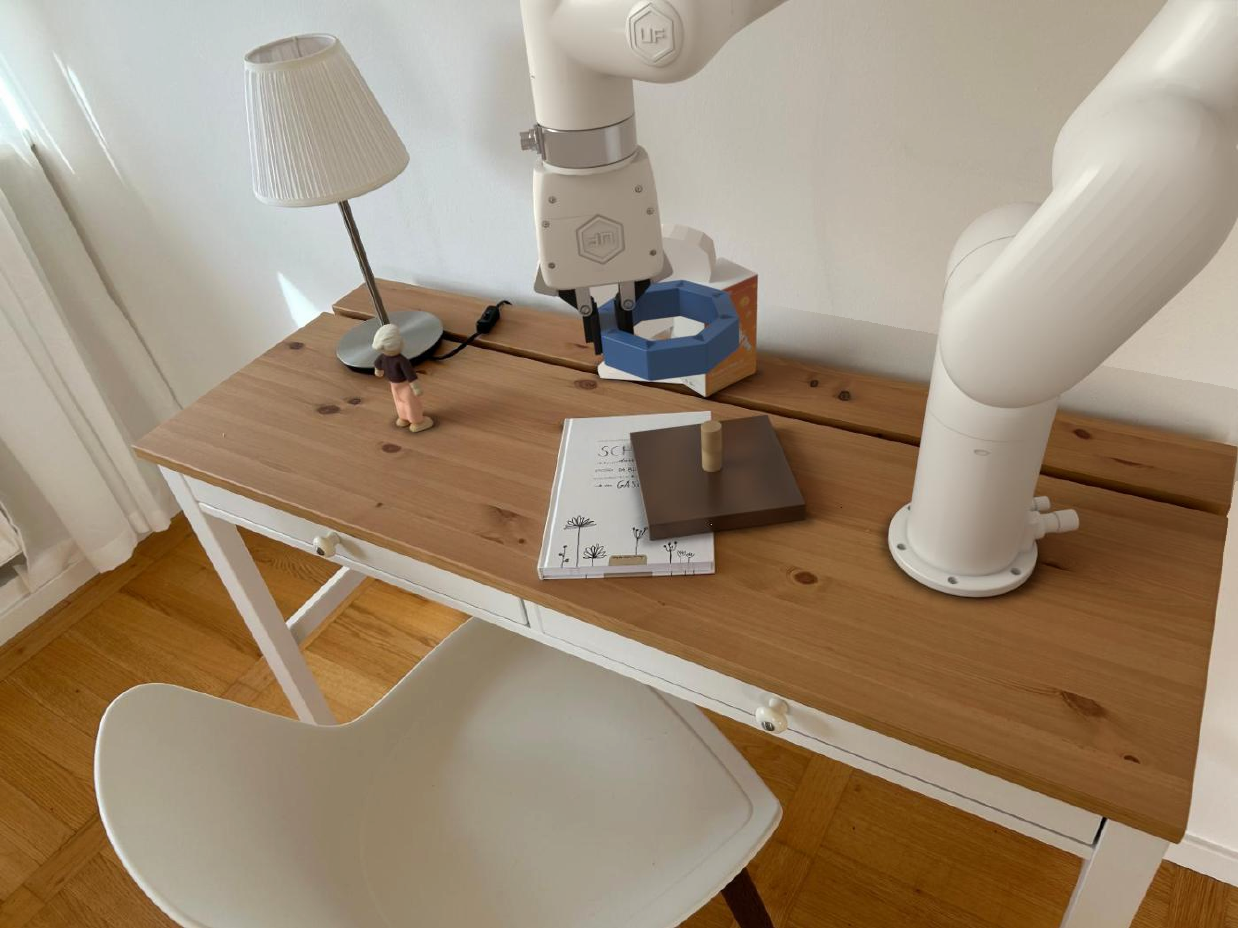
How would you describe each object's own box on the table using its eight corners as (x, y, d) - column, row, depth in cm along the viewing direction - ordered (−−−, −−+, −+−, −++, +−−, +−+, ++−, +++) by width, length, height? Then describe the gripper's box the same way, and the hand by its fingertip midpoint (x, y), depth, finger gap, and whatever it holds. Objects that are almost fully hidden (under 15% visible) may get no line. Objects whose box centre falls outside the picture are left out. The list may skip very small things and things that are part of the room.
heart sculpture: (719, 363, 109) (716, 221, 98) (712, 385, 105) (708, 241, 94) (596, 355, 113) (580, 218, 102) (585, 376, 109) (567, 237, 98)
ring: (720, 303, 86) (720, 274, 84) (748, 368, 77) (748, 338, 75) (596, 319, 86) (593, 290, 84) (608, 386, 76) (605, 356, 74)
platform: (767, 429, 98) (768, 375, 94) (804, 519, 86) (808, 462, 82) (630, 447, 97) (625, 393, 93) (649, 540, 86) (645, 484, 81)
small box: (706, 399, 103) (703, 297, 95) (671, 377, 108) (665, 278, 100) (758, 373, 107) (759, 272, 99) (722, 353, 111) (721, 255, 103)
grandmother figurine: (448, 419, 104) (424, 323, 97) (428, 437, 102) (402, 340, 94) (396, 406, 108) (369, 312, 100) (375, 423, 105) (346, 328, 97)
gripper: (486, 169, 66) (524, 379, 78) (697, 143, 67) (704, 355, 78) (487, 136, 72) (522, 336, 83) (681, 112, 73) (689, 314, 84)
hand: (610, 344), depth 81 cm, fingers closed on ring
